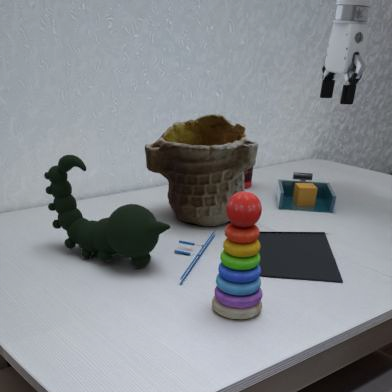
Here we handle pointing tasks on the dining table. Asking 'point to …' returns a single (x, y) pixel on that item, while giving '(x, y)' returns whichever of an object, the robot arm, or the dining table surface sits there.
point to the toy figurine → (102, 222)
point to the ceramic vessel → (202, 166)
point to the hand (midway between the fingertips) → (335, 100)
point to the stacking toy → (240, 260)
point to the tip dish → (323, 197)
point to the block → (305, 194)
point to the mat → (297, 256)
